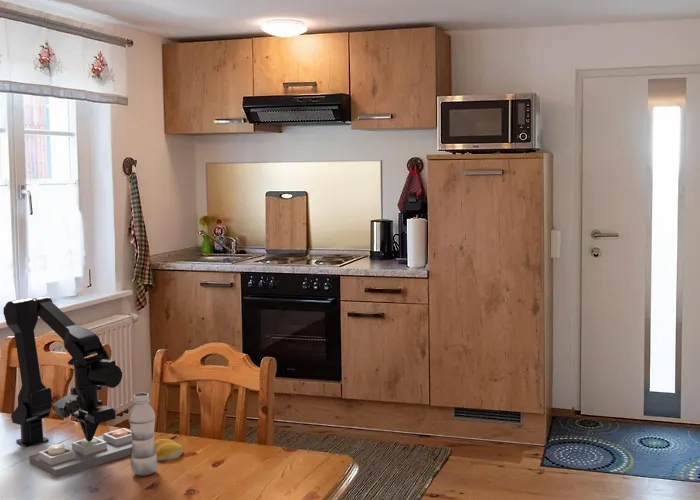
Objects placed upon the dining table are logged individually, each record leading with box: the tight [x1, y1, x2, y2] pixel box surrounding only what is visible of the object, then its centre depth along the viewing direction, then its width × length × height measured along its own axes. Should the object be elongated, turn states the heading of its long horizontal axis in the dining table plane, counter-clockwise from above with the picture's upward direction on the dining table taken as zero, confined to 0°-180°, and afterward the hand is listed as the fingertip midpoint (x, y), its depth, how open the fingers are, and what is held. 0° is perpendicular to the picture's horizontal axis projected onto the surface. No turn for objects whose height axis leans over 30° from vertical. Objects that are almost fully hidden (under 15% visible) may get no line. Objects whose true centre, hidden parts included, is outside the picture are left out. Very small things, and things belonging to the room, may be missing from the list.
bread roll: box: [154, 438, 184, 461], centre depth 218 cm, size 8×9×4 cm
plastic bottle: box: [128, 392, 159, 477], centre depth 204 cm, size 6×7×20 cm
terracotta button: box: [112, 430, 128, 438], centre depth 224 cm, size 4×4×2 cm
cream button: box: [47, 443, 66, 456], centre depth 210 cm, size 4×4×2 cm
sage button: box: [81, 439, 97, 447], centre depth 217 cm, size 4×4×2 cm
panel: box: [28, 427, 132, 478], centre depth 217 cm, size 14×26×4 cm, turn 136°
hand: (89, 440), depth 217 cm, fingers closed
